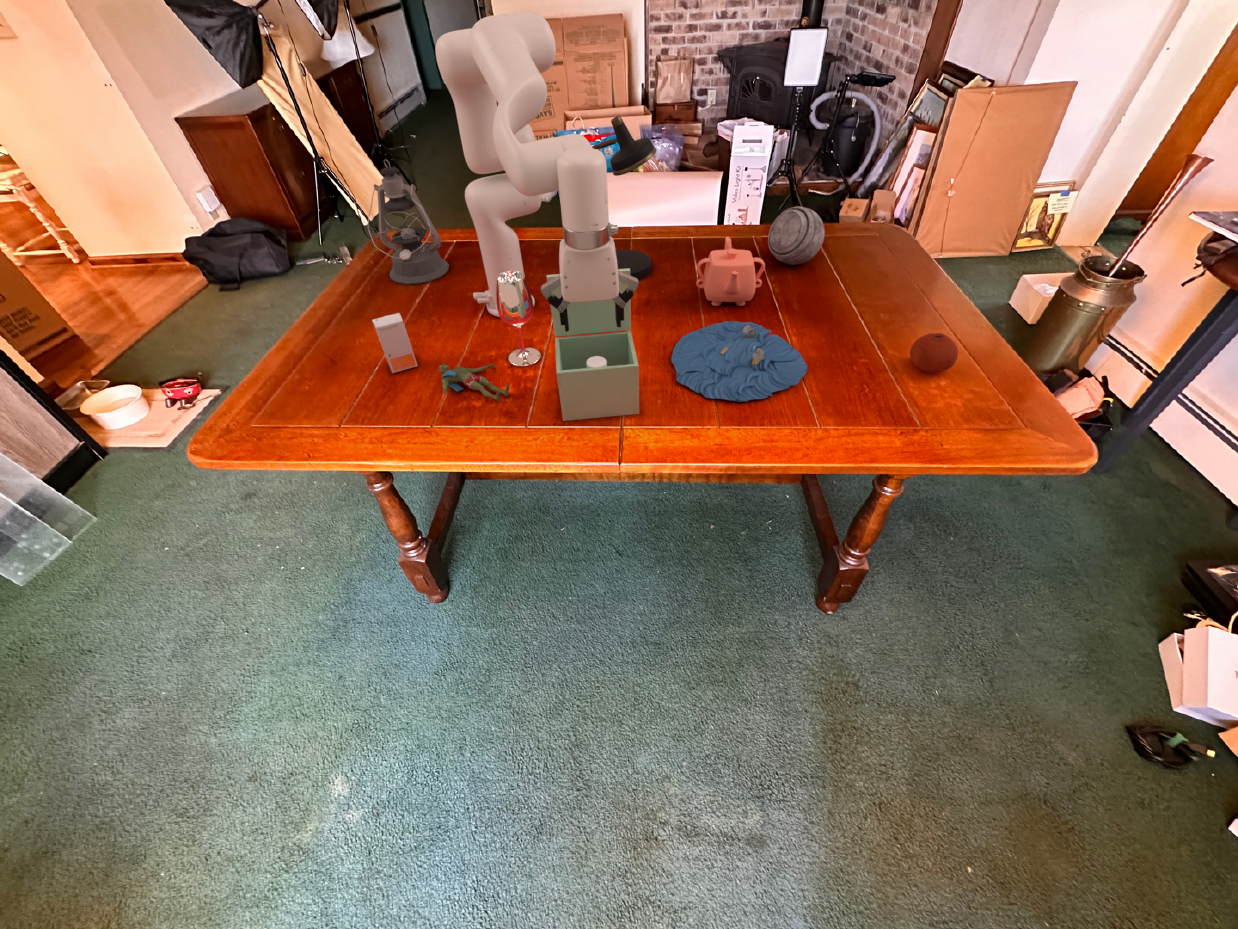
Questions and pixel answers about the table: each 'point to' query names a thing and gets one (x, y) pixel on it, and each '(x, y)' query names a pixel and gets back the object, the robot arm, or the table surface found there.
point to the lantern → (407, 234)
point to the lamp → (622, 163)
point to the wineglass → (516, 312)
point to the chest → (597, 376)
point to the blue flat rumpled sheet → (736, 362)
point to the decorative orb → (796, 235)
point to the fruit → (934, 352)
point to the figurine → (469, 380)
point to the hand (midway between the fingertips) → (592, 325)
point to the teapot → (729, 275)
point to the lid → (591, 314)
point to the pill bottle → (596, 362)
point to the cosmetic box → (395, 342)
